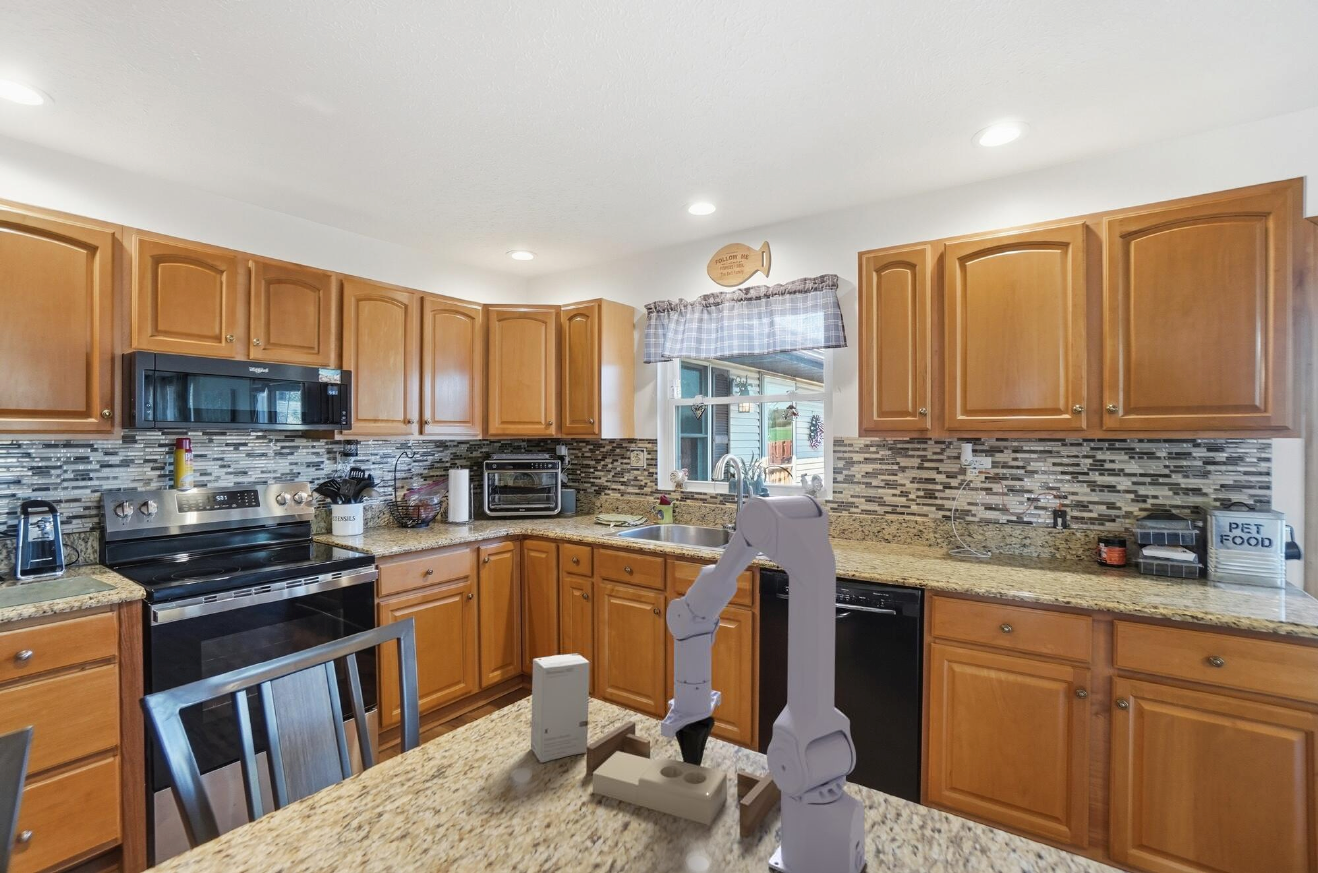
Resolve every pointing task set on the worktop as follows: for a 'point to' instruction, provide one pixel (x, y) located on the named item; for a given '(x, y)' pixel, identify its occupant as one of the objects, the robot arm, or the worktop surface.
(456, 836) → the worktop surface
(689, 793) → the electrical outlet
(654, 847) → the worktop surface
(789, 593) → the robot arm
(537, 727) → the skincare box
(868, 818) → the worktop surface
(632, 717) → the worktop surface
